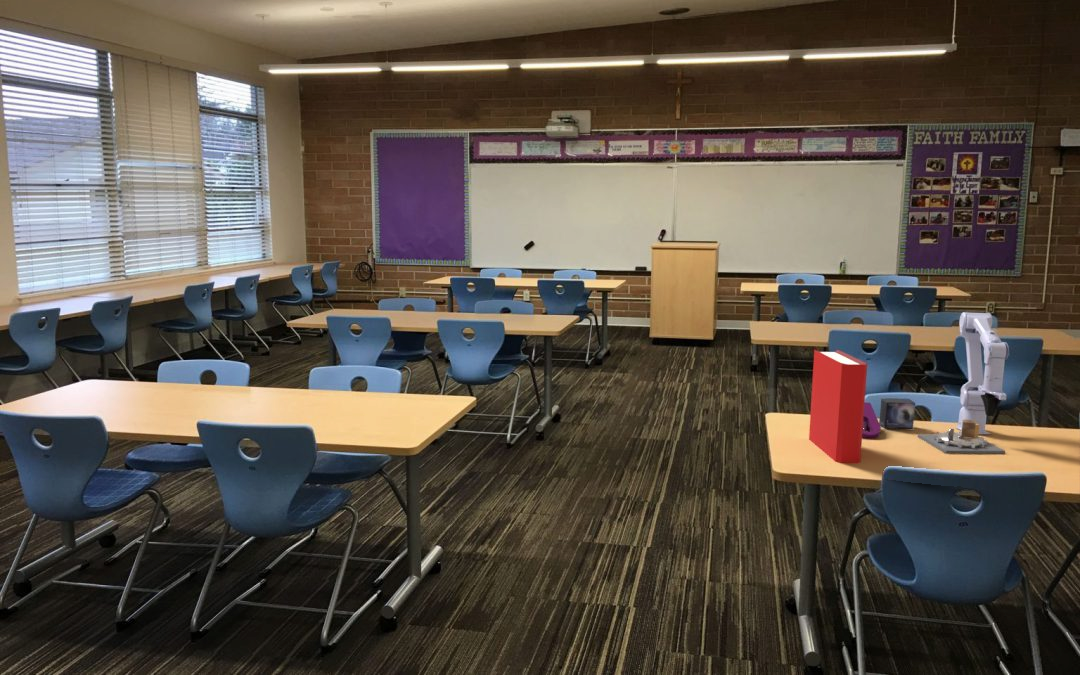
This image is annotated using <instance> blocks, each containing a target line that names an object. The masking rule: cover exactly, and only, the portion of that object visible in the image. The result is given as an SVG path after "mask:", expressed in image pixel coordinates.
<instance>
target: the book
mask: <svg viewBox="0 0 1080 675" xmlns="http://www.w3.org/2000/svg"><path fill="white" fill-rule="evenodd" d="M812 368H813V369H812V385H811V399H810V400H811V401H810V414H809V416H810V417H809V418H810V419H809V434H808V440H809V441H810V442H811V443H813V444H814V445H815V446H816V447H817V448H819V449H820V450H821V451H822V452H823V453H824V454H825V455H827V456H828V457H829V458H830V459H832V460H833V461H834V462H835V463H839V464H859V463H861V457H862V456H861V455H862V444H863V442H862V441H863V438H862V431H863V417H864V404H865V400H866V391H867V390H866V387H867V374H868V373H867V372H868V363H866V362H865V361H863V360H861V359H858V358H856V357H854V356H852V355H850V354H848V353H845V352H844V351H841V350H839V349H837V350H836V351H818V350H816V349H814V353H813V366H812Z"/></svg>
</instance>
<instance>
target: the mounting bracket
mask: <svg viewBox="0 0 1080 675" xmlns="http://www.w3.org/2000/svg"><path fill="white" fill-rule="evenodd" d="M863 428H864V429H863V431H862V439H870V440H871V439H873V440H874V439H877V438H878V437H879V436H880V434H881V430H882V427H881V426H880V424H879V420H878V418H877V415H876V413H875V411H874V408H873V406H872V403H871V402H865V404H864V417H863ZM867 430H869V431H867Z"/></svg>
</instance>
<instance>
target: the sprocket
mask: <svg viewBox="0 0 1080 675" xmlns="http://www.w3.org/2000/svg"><path fill="white" fill-rule="evenodd" d="M961 433H962V431H960V432H955V428H948V430H947V431H945V432H939V431H938V432H937V435H936V433H935V435H934V439H937V440H936V441H937V442H942V443H944V444H945V445H952V446H958V447H959V448H962V447H970V448H975V447H981V448H983V447H984V445H987V442H988V440H986V439H985V438H984V437H983V436H981V437H980V436H978V437H977V436H974V437H966V436H961Z"/></svg>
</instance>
